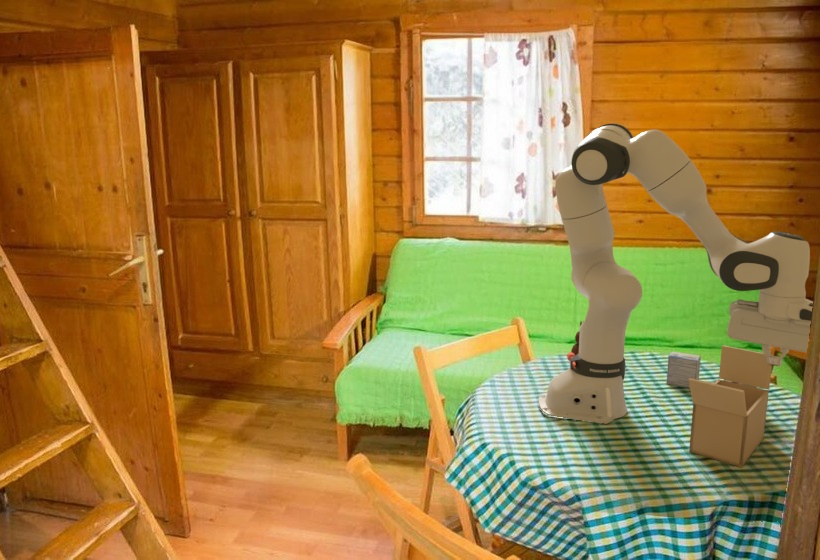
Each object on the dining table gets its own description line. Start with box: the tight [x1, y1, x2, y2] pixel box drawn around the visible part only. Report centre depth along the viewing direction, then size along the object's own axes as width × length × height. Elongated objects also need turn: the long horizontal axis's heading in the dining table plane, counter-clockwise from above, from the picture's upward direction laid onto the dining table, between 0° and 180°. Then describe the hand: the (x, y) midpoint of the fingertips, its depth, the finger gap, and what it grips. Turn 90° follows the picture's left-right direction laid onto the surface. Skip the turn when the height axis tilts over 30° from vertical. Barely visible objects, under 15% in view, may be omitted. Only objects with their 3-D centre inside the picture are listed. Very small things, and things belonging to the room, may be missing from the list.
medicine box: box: [666, 351, 701, 389], centre depth 182 cm, size 8×4×9 cm, turn 58°
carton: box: [688, 378, 770, 468], centre depth 147 cm, size 11×17×12 cm, turn 138°
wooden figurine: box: [570, 320, 585, 355], centre depth 196 cm, size 7×6×15 cm
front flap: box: [688, 378, 747, 417], centre depth 137 cm, size 11×8×1 cm
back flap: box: [718, 344, 774, 390], centre depth 151 cm, size 11×8×1 cm
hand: (773, 364), depth 146 cm, fingers closed
